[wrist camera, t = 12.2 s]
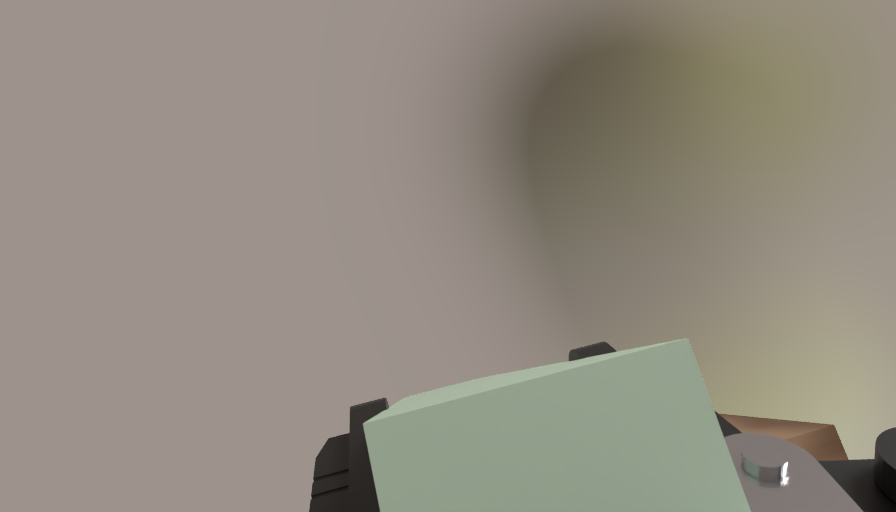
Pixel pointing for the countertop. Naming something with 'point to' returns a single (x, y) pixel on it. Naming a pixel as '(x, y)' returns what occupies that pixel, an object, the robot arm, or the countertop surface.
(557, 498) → the sage bar
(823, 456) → the wooden bin
